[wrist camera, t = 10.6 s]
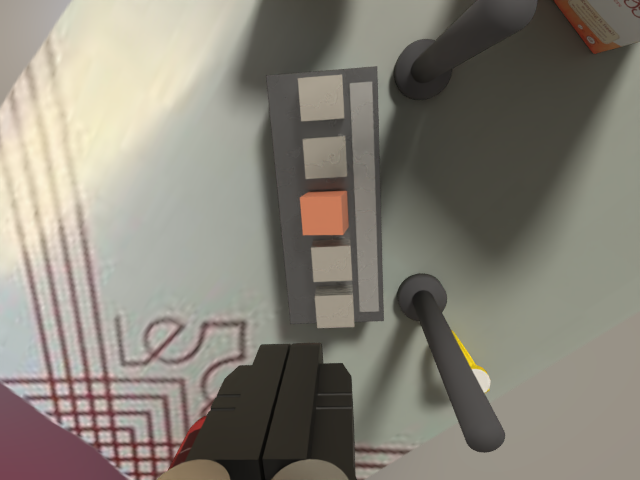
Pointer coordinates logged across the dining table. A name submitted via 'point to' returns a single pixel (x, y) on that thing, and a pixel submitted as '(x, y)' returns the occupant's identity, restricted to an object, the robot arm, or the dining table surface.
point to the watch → (475, 368)
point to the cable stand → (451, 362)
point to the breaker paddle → (324, 213)
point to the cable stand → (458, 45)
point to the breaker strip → (329, 175)
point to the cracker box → (603, 22)
